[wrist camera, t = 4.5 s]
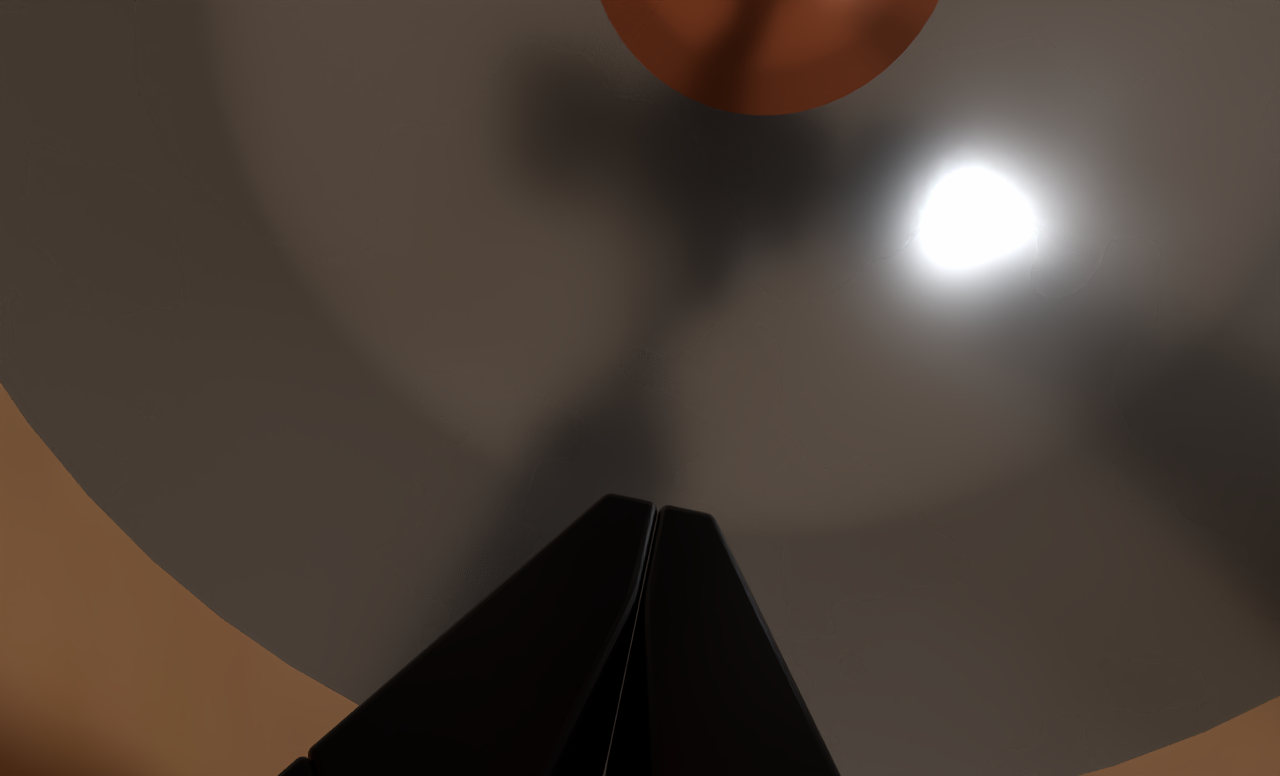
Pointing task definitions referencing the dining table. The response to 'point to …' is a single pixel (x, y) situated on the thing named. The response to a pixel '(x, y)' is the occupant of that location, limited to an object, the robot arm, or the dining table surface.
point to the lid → (684, 330)
